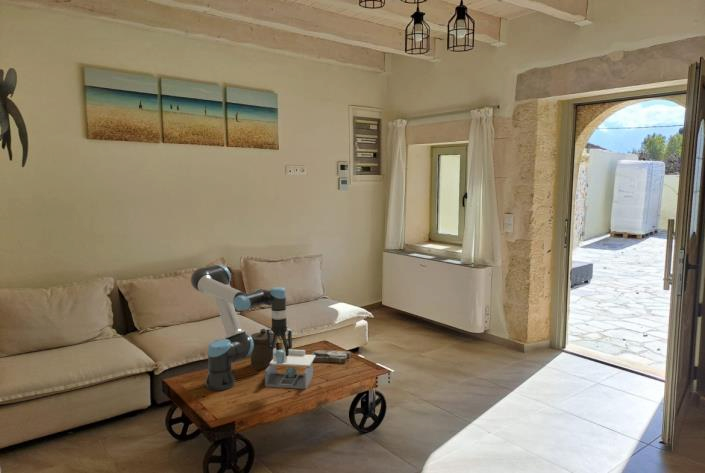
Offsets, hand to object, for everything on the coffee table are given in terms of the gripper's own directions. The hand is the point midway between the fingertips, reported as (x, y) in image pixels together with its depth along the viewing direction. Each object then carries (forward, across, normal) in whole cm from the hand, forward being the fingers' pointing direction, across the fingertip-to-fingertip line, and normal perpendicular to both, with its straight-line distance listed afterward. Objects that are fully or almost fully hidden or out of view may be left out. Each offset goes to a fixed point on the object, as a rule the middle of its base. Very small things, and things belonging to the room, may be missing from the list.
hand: (280, 361), depth 247 cm
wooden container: (+15, -22, +31) cm, 40 cm away
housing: (+15, +2, +9) cm, 18 cm away
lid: (+5, +1, +17) cm, 18 cm away
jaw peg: (0, 0, 0) cm, 0 cm away
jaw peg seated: (+14, +1, +13) cm, 19 cm away
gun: (+16, +14, +48) cm, 53 cm away
